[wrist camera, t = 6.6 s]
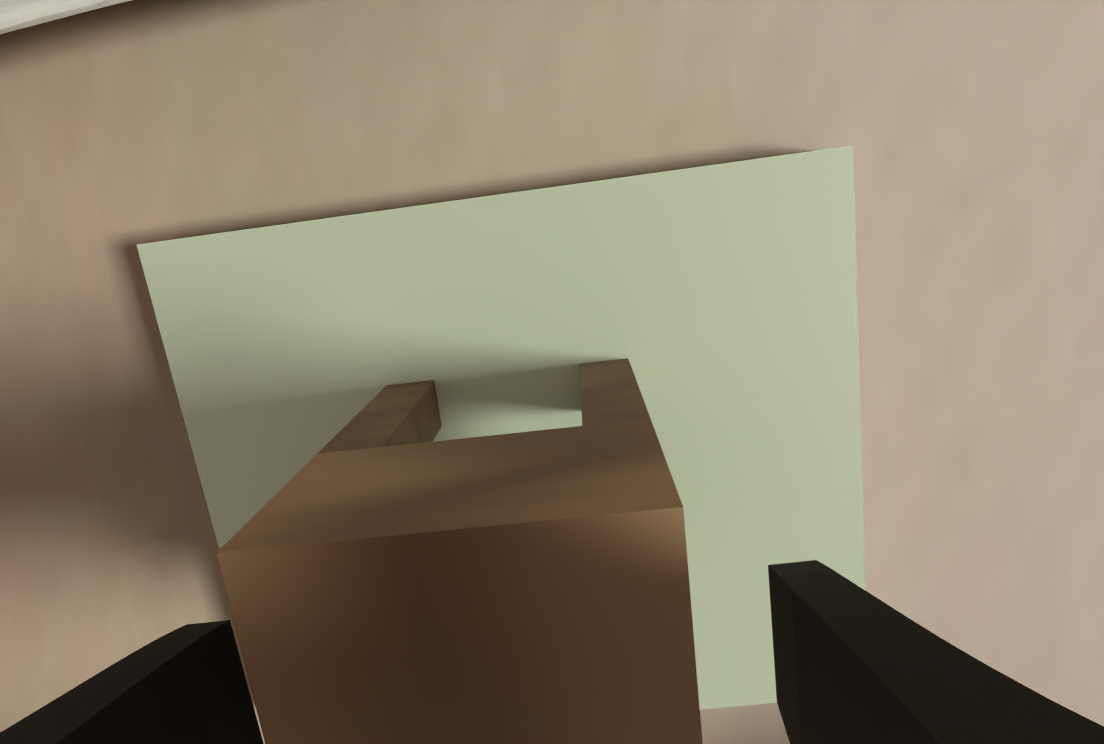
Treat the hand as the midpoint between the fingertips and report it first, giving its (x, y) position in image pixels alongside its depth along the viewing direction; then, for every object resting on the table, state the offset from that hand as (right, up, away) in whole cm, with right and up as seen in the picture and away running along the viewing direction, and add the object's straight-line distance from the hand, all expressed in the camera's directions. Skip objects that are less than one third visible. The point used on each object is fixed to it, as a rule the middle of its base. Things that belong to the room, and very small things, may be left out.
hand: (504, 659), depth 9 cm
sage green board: (0, +2, +7) cm, 7 cm away
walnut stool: (0, +1, +6) cm, 6 cm away
